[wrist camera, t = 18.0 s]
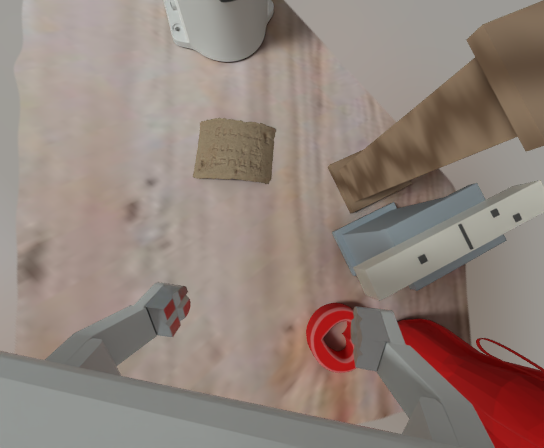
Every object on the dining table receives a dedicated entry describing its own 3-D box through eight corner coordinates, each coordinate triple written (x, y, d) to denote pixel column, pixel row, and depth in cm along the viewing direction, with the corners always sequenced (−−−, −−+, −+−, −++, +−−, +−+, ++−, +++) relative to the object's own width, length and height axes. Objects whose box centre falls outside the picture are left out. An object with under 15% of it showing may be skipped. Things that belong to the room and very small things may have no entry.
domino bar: (352, 267, 22) (365, 270, 20) (512, 186, 25) (541, 179, 23) (365, 294, 22) (380, 301, 20) (525, 210, 25) (555, 206, 22)
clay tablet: (278, 130, 39) (280, 122, 37) (275, 186, 38) (277, 182, 36) (194, 123, 38) (190, 113, 35) (189, 180, 37) (184, 175, 34)
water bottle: (431, 304, 39) (755, 412, 14) (438, 371, 38) (799, 614, 13) (380, 308, 38) (631, 432, 13) (386, 376, 37) (668, 651, 12)
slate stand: (331, 232, 38) (384, 224, 23) (390, 203, 40) (474, 178, 25) (352, 275, 38) (419, 295, 23) (410, 244, 39) (508, 244, 24)
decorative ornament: (298, 314, 37) (303, 320, 33) (351, 294, 38) (360, 299, 35) (316, 372, 36) (323, 384, 33) (370, 350, 37) (381, 360, 34)
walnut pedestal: (327, 167, 39) (478, 17, 13) (384, 141, 41) (620, -39, 15) (350, 213, 39) (551, 152, 13) (407, 185, 40) (688, 81, 14)
